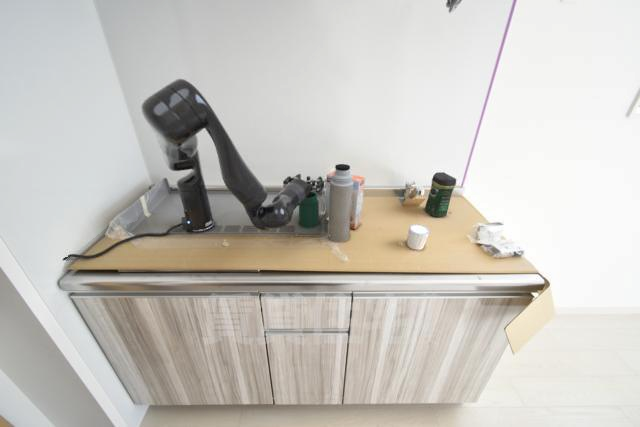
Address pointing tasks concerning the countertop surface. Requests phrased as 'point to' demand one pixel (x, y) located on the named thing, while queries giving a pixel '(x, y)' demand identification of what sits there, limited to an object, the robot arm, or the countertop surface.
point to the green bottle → (309, 211)
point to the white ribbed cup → (417, 236)
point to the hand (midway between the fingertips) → (310, 177)
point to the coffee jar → (440, 194)
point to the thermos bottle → (340, 203)
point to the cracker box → (356, 199)
